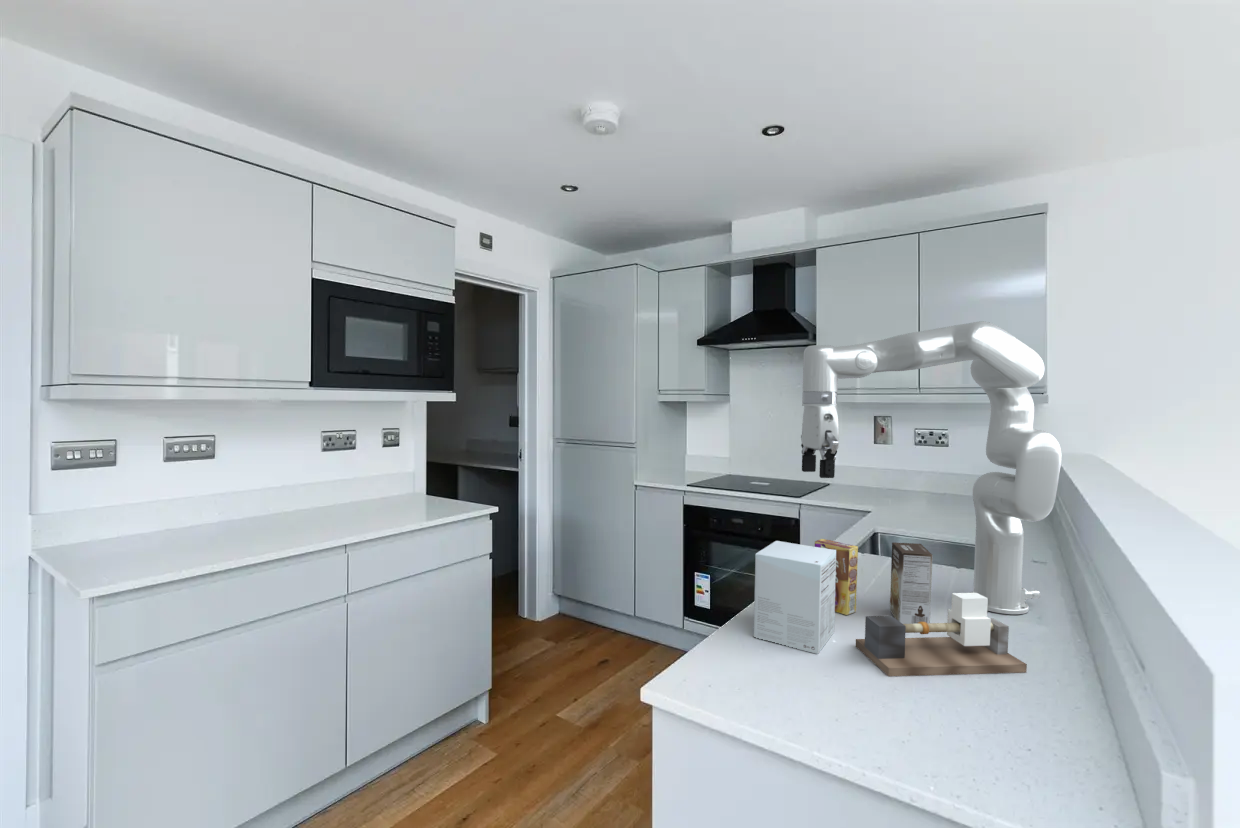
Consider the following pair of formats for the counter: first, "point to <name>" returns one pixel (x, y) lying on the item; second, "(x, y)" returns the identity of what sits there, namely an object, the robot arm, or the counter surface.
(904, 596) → the coffee box
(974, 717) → the counter surface
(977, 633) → the stepped white block
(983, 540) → the robot arm
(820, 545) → the candy box
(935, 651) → the wooden board rod assembly
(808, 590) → the supplement box
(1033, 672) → the counter surface
